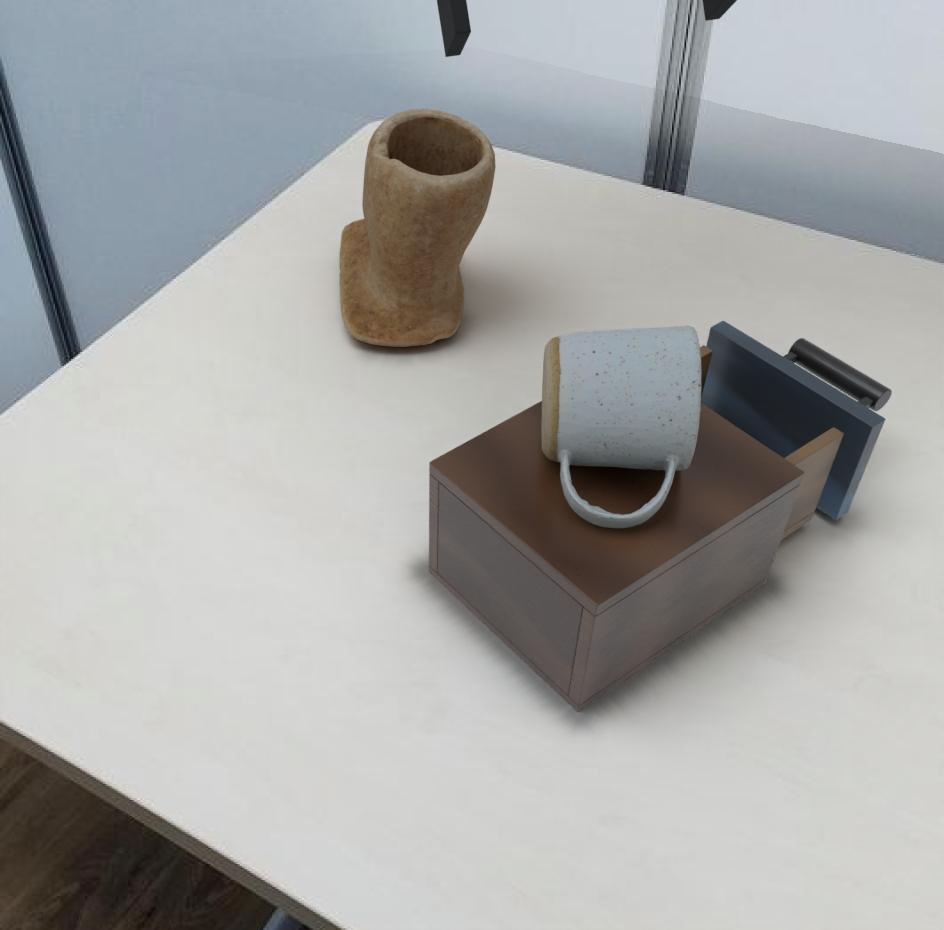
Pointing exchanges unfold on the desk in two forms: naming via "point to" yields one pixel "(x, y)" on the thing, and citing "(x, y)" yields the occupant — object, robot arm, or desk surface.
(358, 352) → the desk surface
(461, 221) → the stone cup
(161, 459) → the desk surface
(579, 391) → the ceramic mug
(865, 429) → the drawer
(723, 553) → the cabinet
